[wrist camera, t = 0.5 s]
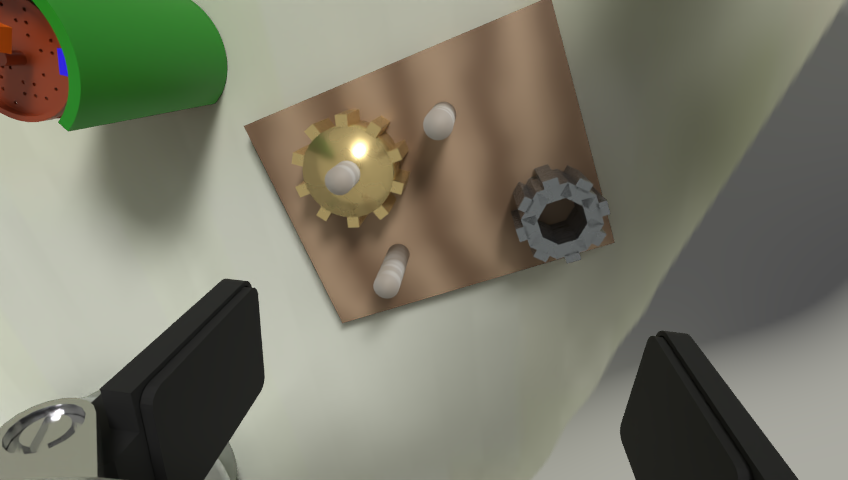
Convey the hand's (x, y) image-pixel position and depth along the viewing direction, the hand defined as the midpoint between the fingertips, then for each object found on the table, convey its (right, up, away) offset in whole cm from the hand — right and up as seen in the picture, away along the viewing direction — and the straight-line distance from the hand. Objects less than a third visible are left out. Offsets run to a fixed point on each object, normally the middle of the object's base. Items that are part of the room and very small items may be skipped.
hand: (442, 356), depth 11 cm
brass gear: (-6, +9, +27) cm, 29 cm away
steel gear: (+10, +6, +27) cm, 29 cm away
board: (0, +8, +29) cm, 30 cm away
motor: (-22, +19, +28) cm, 40 cm away
